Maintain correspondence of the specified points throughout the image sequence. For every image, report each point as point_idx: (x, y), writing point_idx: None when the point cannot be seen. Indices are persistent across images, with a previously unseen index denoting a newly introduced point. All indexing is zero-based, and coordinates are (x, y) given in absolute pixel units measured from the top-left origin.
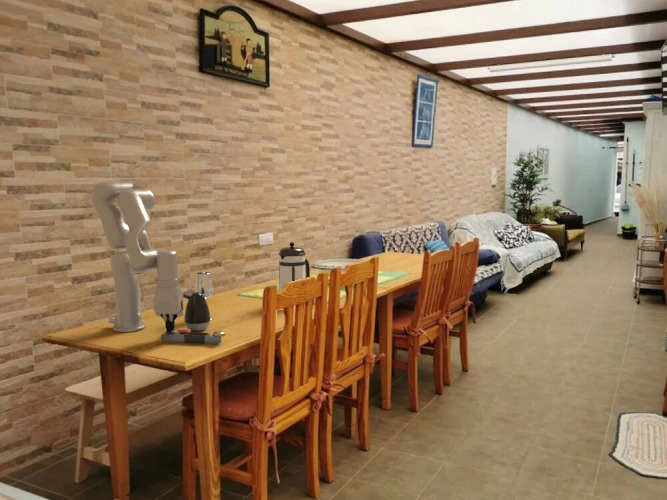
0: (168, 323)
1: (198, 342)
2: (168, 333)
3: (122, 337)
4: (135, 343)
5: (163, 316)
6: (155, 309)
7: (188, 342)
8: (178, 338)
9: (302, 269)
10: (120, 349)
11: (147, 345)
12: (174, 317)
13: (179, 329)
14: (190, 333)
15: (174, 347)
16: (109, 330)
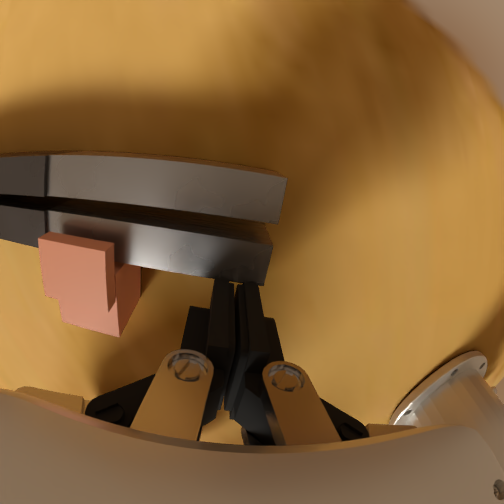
0: (231, 335)
1: (7, 153)
2: (213, 212)
3: (481, 287)
4: (438, 165)
5: (323, 420)
6: (489, 463)
7: (56, 151)
8: (108, 154)
9: None
10: (465, 64)
11: (359, 97)
12: (130, 402)
13: (92, 248)
14: (19, 206)
15: (131, 43)
16: (487, 360)
